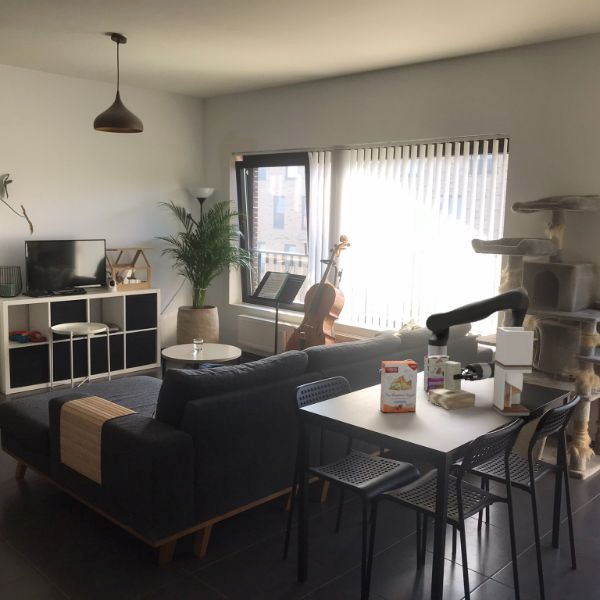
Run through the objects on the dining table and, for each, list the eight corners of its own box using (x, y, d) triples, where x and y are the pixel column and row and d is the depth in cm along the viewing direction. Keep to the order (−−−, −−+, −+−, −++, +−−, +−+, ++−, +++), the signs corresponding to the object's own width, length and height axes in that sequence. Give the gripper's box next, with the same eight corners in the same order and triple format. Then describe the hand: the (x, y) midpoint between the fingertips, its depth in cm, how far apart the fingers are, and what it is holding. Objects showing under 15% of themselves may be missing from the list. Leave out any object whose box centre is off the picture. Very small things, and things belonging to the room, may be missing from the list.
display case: (502, 415, 262) (506, 331, 257) (492, 408, 272) (496, 327, 268) (529, 415, 262) (533, 331, 258) (518, 407, 273) (523, 327, 269)
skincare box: (461, 390, 277) (461, 363, 275) (454, 392, 274) (454, 364, 273) (449, 387, 282) (450, 360, 280) (442, 388, 279) (443, 361, 278)
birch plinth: (428, 401, 282) (428, 390, 281) (453, 397, 288) (454, 386, 287) (448, 409, 269) (449, 397, 269) (474, 405, 275) (475, 394, 275)
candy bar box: (444, 388, 305) (445, 354, 303) (449, 390, 300) (450, 356, 298) (422, 389, 302) (423, 355, 300) (427, 392, 297) (428, 357, 295)
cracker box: (383, 413, 262) (385, 363, 260) (379, 409, 268) (381, 360, 266) (416, 412, 265) (418, 363, 262) (411, 408, 270) (413, 360, 268)
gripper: (467, 360, 289) (438, 363, 282) (489, 366, 276) (459, 370, 269) (466, 376, 290) (437, 380, 283) (489, 383, 277) (458, 388, 270)
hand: (448, 375), depth 276 cm, fingers closed on skincare box, 6 cm apart
